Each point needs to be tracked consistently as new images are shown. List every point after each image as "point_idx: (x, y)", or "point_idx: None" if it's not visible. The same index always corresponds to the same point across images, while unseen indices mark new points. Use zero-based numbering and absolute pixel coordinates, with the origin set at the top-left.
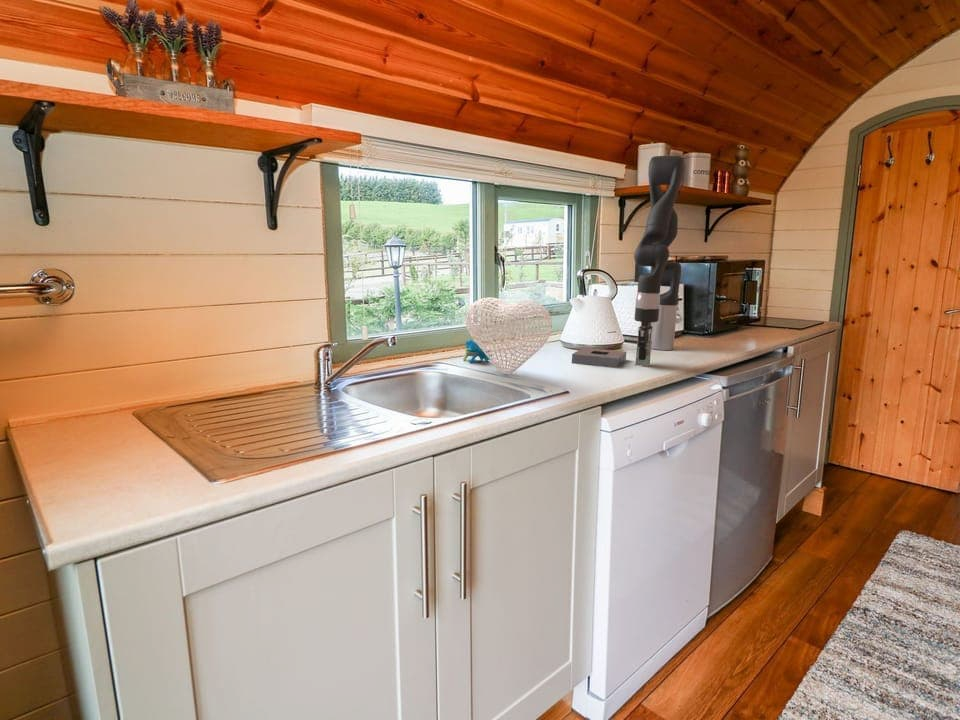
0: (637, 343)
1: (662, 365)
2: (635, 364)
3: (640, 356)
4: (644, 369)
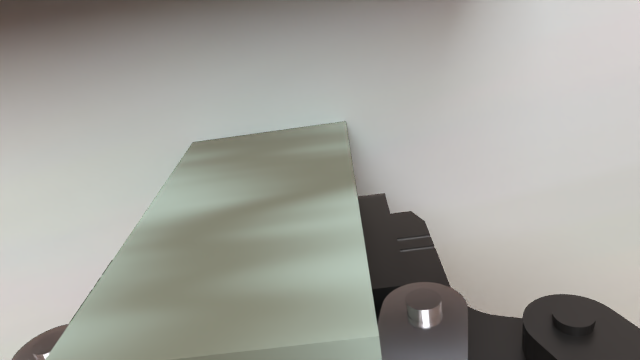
0: (63, 342)
1: None
2: (190, 146)
3: None
4: (54, 283)
